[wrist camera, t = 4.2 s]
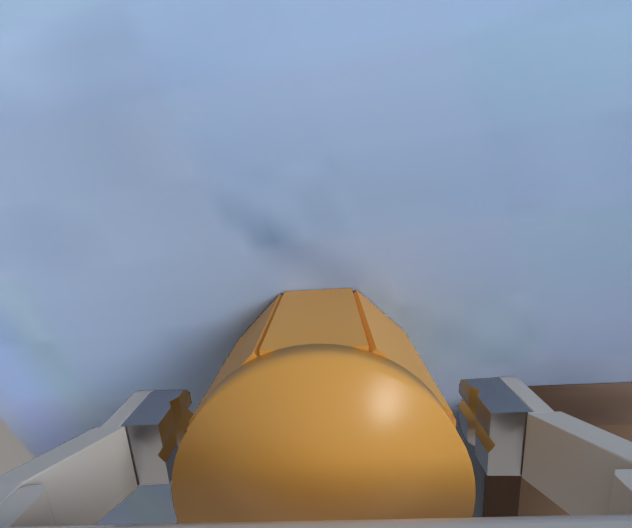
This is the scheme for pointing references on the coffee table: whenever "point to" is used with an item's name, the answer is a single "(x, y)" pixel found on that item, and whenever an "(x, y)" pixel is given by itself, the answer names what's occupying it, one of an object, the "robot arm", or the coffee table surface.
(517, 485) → the wooden peg stand
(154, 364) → the coffee table surface
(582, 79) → the coffee table surface
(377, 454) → the domed octagonal prism
